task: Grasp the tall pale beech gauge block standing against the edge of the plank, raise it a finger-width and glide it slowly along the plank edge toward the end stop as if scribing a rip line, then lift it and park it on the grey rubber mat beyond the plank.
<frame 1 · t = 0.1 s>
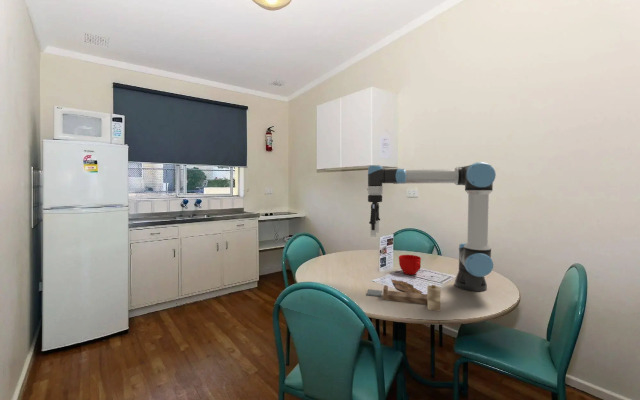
hand: (374, 234, 155), 28 cm above the table, fingers open, 13 cm apart
gauge: (433, 308, 127), on the table
mat: (374, 293, 144), on the table
ceramic cup: (411, 274, 176), on the table
plank: (409, 299, 136), on the table
wooden fragment: (403, 288, 154), on the table
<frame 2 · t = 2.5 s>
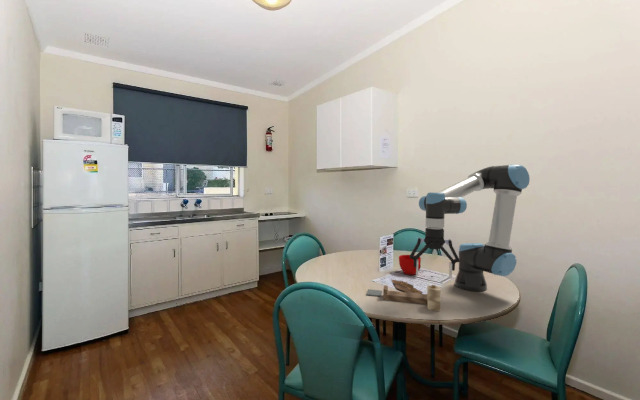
hand: (433, 276, 126), 14 cm above the table, fingers open, 13 cm apart
nothing on the table moved.
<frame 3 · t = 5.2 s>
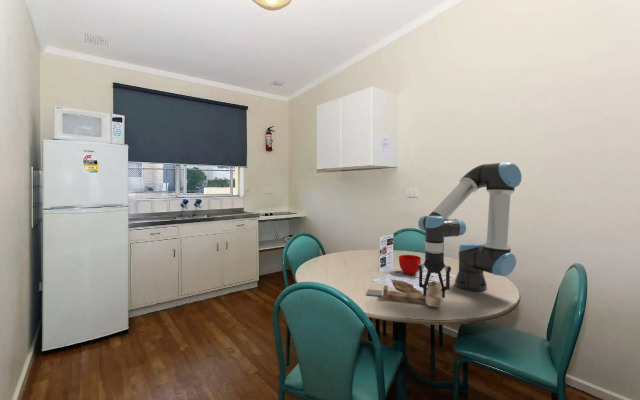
hand: (433, 303, 127), 2 cm above the table, fingers closed on gauge, 5 cm apart
gauge: (433, 304, 127), point 1 cm above the table, touching gripper
everything else where it was.
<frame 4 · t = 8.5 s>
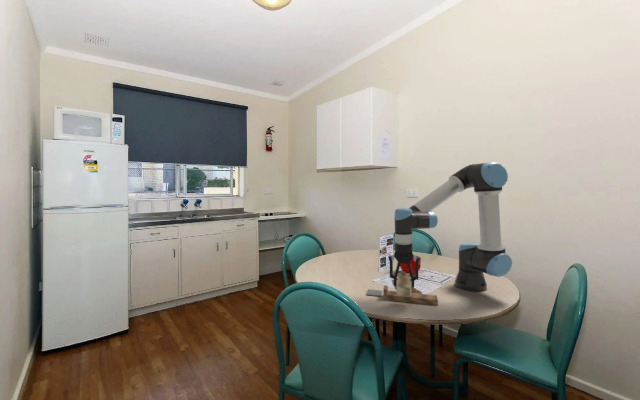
hand: (404, 293, 131), 5 cm above the table, fingers closed on gauge, 5 cm apart
gauge: (404, 294, 131), point 5 cm above the table, touching gripper
everything else where it was.
when the fingers open (2 cm above the table, at t = 12.2 s): gauge drops 1 cm, resting on mat.
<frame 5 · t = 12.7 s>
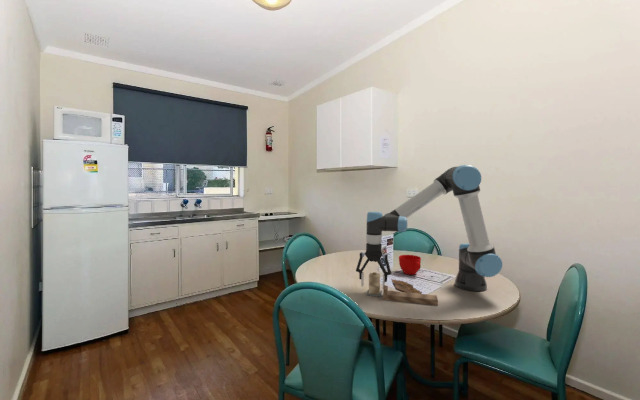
hand: (372, 286, 145), 3 cm above the table, fingers open, 10 cm apart
gauge: (374, 292, 144), point 1 cm above the table, touching mat
everything else where it was.
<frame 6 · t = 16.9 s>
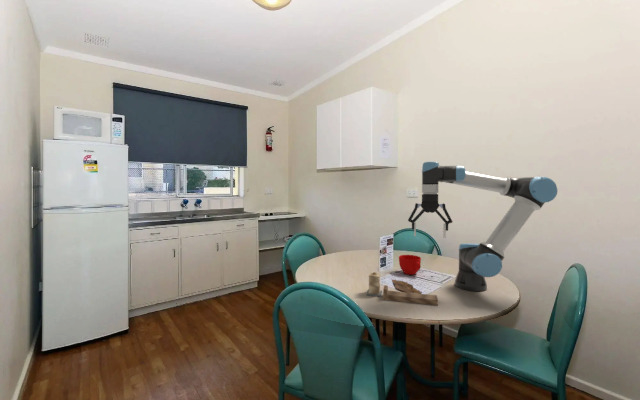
hand: (429, 236, 142), 29 cm above the table, fingers open, 13 cm apart
nothing on the table moved.
at the end: gauge inside the target area on the mat (0.1 cm from its centre), point 0.6 cm above the mat's base; gauge tilted 0°; the gripper is holding nothing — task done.
